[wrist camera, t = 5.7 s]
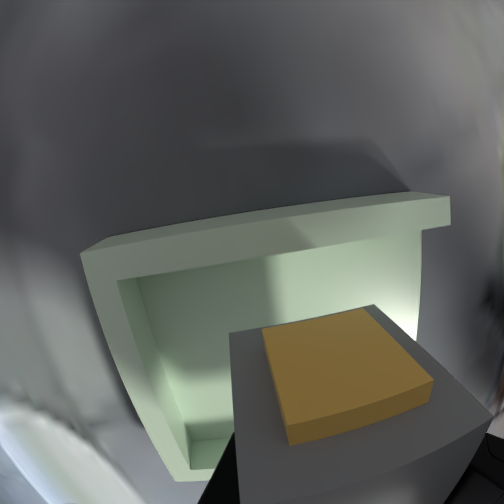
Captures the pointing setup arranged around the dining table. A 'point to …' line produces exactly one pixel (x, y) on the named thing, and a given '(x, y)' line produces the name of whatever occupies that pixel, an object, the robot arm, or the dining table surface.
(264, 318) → the holder
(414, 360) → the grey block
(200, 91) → the dining table surface
